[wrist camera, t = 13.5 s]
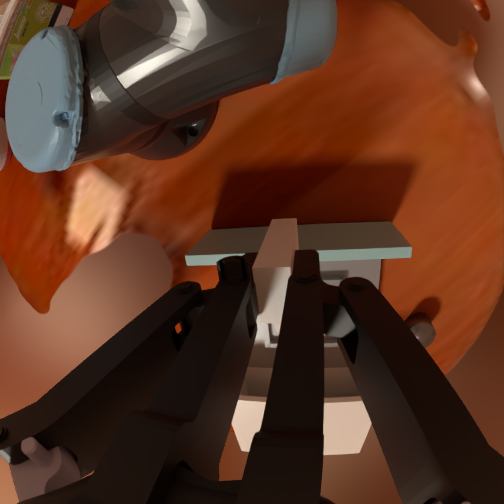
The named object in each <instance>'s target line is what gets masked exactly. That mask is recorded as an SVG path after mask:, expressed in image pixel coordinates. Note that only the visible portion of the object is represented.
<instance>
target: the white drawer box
mask: <svg viewBox="0 0 504 504" xmlns="http://www.w3.org/2000/svg"><path fill="white" fill-rule="evenodd" d="M272 370H273V368H259V367H247V371H246V374H245V378H244V381H243V385H242V389H241V392H240V395H239V399H238V402H237V406H236V409H235V413H234V416H233V420H232V426H233V429H234V431H235V434H236V437H237V439H238V442H239V444H240V447H241V450H242V451H247V452H249V450H250V446H251V442H252V439H253V436H254V434H255V433H256V432H258V431H259V430H260V427H261V424H262V419H263V414H264V410H265V405H266V400H267V395H268V390H269V385H270V380H271V375H272ZM370 426H371V420H370V418H369V416H368V413H367V411H366V408H365V406H364V403H363V401H362V399H361V396H360V394H359V391H358V389H357V387H356V384H355V382H354V380H353V377H352V375H351V373H350V370H349V368H348V367H339V368H324V423H323V434H324V453H323V455H335V454H350V453H359V452H360V450H361V447H362V445H363V443H364V441H365V438H366V436H367V433H368V431H369V428H370Z"/></svg>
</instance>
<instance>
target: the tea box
mask: <svg viewBox="0 0 504 504" xmlns="http://www.w3.org/2000/svg"><path fill="white" fill-rule="evenodd" d="M73 12H74V9H73V8H70V7H67V6H64V5H61V4H58V3H55V2H51V1H47V0H11V1H8V2H7V3H5V4H3V5H2V6H0V79H10V77H11V74H12V71H13V68H14V66H15V63H16V61H17V59H18V57H19V55H20V53H21V52H22V50H23V49H24V47H25V46H26V44H27V43H28V42H29V41H30V39H31V38H32V37H33V36H35V35H36V34H37V33H38V32H39V31H41V30H43V29H45V28H48V27H57V26H59V25H66V26H67V25H68V23H69V20H70V18H71V16H72V14H73Z"/></svg>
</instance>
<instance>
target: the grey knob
mask: <svg viewBox="0 0 504 504" xmlns="http://www.w3.org/2000/svg"><path fill="white" fill-rule="evenodd" d="M405 323H406V325H407V326H408V327H409V328H410V330H411V331H412V332H413V334H414V335H415V336H416V337H417V339H418V340H419V341H420V343H421V344H422V345H423V347H424V348H425V347H427V346H428V345H430V344H431V343H432V341H433V340H434V338H435V335H436V332H435V329H434V327H433V325H432V323H431V321H430V319H429V317H428V316H427V315H426V314H425V313H415V314H413V315H411V316H410V317H408V318H407V319H406V320H405Z"/></svg>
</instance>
